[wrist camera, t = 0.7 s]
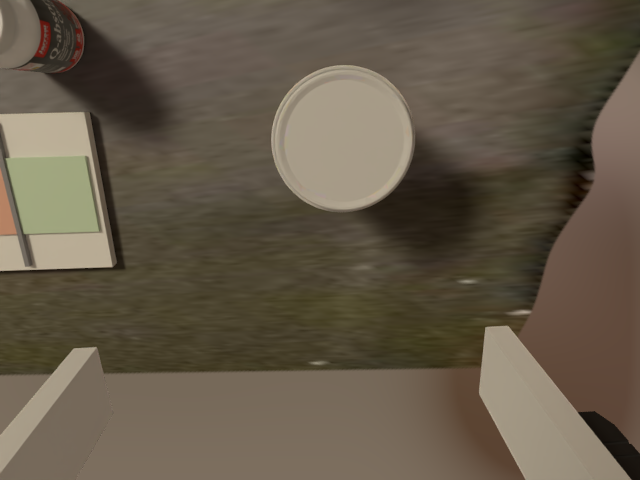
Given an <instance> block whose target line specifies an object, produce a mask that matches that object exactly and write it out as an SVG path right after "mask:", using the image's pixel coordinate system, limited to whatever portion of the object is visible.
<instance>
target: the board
mask: <svg viewBox="0 0 640 480" xmlns="http://www.w3.org/2000/svg"><path fill="white" fill-rule="evenodd" d="M116 263H117V261H116V256H115V250H114V244H113V239H112V233H111V228H110V222H109V217H108V211H107V206H106V200H105V194H104V189H103V183H102V178H101V172H100V167H99V161H98V156H97V150H96V144H95V139H94V133H93V128H92V122H91V117H90V112H60V113H22V114H0V271H11V270H40V269H69V268H99V267H113V266H114V265H115V264H116Z"/></svg>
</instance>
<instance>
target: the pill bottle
mask: <svg viewBox="0 0 640 480" xmlns="http://www.w3.org/2000/svg"><path fill="white" fill-rule="evenodd" d="M83 50H84V34H83V30H82V27H81V25H80V23H79V21H78V19H77V17H76V16H75V15H74V13H73V12H72V11H71V10H70V9H69V8H68V7H67V6H65V5H64V4H62V3H61V2H59V1H57V0H0V68H2V69H12V70H23V71H34V72H44V73H61V72H64V71H67V70H69V69H71V68H72V67H74V66H75V65H76V64H77V63H78V61H79V60H80V58H81V56H82V54H83Z"/></svg>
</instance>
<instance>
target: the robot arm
mask: <svg viewBox="0 0 640 480" xmlns="http://www.w3.org/2000/svg"><path fill="white" fill-rule="evenodd" d="M479 395H480V396H481V398H482V400H483V402H484V404H485V406H486V407H487V409H488V411H489V413H490V415H491V417H492V418H493V420H494V422H495V424H496V426H497V427H498V429H499V431H500V433H501V435H502V437H503V439H504V441H505V443H506V444H507V446H508V448H509V450H510V452H511V453H512V455H513V457H514V459H515V461H516V463H517V464H518V467H519V468H520V470H521V472H522V474H523V476H524V478H525V479H526V480H640V453H639V452H638V451H637V450H636V449H635V448H634V447H633V445H632V444H629V442H628V440H627V439H626V437H624V435H623V434H622V433H621V432H620V431H619V430H618V428H617V427H616V426H615V425H614V424H612V423H611V422H609V421H608V420H606V419H605V418H604V417H602V416H601V415H599V414H598V413H596V412H595V411H594V412H577V411H576V410H575V409H574V408H573V406H572V405H571V404H570V402H569V401H568V400H567V399H566V398H565V396H564V395H563V394H562V393H561V391H560V390H559V389H558V388H557V386H556V385H555V384H554V383H553V381H552V380H551V379H550V378H549V376H548V375H547V374H546V373H545V371H544V370H543V369H542V368H541V366H540V365H539V364H538V363H537V361H536V360H535V359H534V358H533V356H532V355H531V354H530V353H529V352H528V350H527V349H526V348H525V346H524V345H523V344H522V343H521V341H520V340H519V339H518V338H517V336H516V335H515V334H514V333H513V332H512V330H511V329H510V328H509V327H508V326H498V327H486V329H485V338H484V348H483V358H482V368H481V379H480V389H479ZM112 415H113V409H112V405H111V401H110V397H109V393H108V389H107V385H106V382H105V377H104V373H103V370H102V366H101V362H100V358H99V354H98V350H97V347H93V348H74V349H73V350H72V351H71V353H70V354H69V355H68V356H67V357H66V358H65V360H64V361H63V362H62V363H61V364H60V366H59V367H58V368H57V369H56V370H55V371H54V373H53V374H52V375H51V376H50V377H49V379H48V380H47V381H46V382H45V383H44V384H43V386H42V387H41V388H40V389H39V390H38V392H37V393H36V394H35V395H34V396H33V397H32V399H31V400H30V401H29V402H28V403H27V404H26V406H25V407H24V408H23V409H22V410H21V412H20V413H19V414H18V415H17V416H16V417H15V419H14V420H13V421H12V422H11V423H10V425H9V426H8V427H7V428H6V429H5V430H4V432H3V433H2V434H1V435H0V480H76V478H77V477H78V475H79V473H80V471H81V469H82V468H83V466H84V464H85V462H86V461H87V459H88V457H89V455H90V454H91V452H92V450H93V448H94V447H95V445H96V443H97V441H98V440H99V438H100V436H101V434H102V433H103V431H104V429H105V427H106V425H107V424H108V422H109V420H110V418H111V417H112Z"/></svg>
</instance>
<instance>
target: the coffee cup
mask: <svg viewBox="0 0 640 480" xmlns="http://www.w3.org/2000/svg"><path fill="white" fill-rule="evenodd" d="M271 144H272V153H273V157H274V161H275V164H276V167H277V169H278V171H279V174H280V175H281V177H282V179H283V180H284V182H285V183H286V185H287V186H288V187H289V188H290V189H291V190H292V192H293V193H295V194H296V195H297V196H298V197H299V198H300V199H302V200H303V201H305V202H307V203H308V204H310V205H312V206H314V207H317V208H320V209H323V210H327V211H332V212H351V211H357V210H361V209H364V208H367V207H370V206H372V205H374V204H376V203H378V202H379V201H381V200H382V199H384V198H385V197H386V196H388V195H389V194H390V193H391V192H392V191H393V190H394V189H395V188H396V187H397V186H398V185H399V183H400V182H401V181H402V179H403V178H404V176H405V174H406V172H407V171H408V168H409V166H410V164H411V161H412V157H413V153H414V148H415V128H414V122H413V117H412V115H411V112H410V109H409V107H408V105H407V103H406V101H405V99H404V98H403V96H402V95H401V93H400V92H399V91H398V89H397V88H396V87H395V86H394V85H393V84H392V83H391V82H389V81H388V80H387V79H386V78H384V77H383V76H381V75H379V74H378V73H376V72H373V71H371V70H369V69H366V68H362V67H358V66H351V65H338V66H331V67H327V68H323V69H321V70H318V71H315V72H313V73H312V74H310V75H308V76H306V77H305V78H303V79H302V80H300V81H299V82H298V83H297V84H296V85H295V86H294V87H293V88H292V89H291V90H290V91H289V92H288V93H287V95H286V96H285V97H284V99H283V101H282V102H281V104H280V106H279V108H278V110H277V112H276V115H275V118H274V122H273V127H272V135H271Z"/></svg>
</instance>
